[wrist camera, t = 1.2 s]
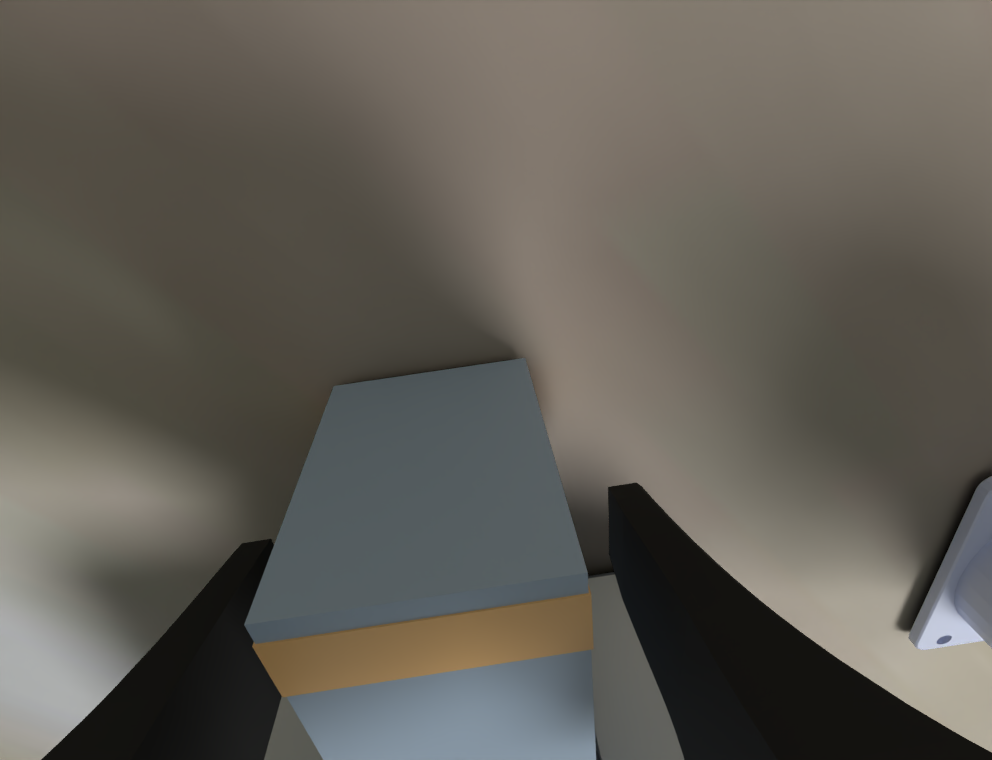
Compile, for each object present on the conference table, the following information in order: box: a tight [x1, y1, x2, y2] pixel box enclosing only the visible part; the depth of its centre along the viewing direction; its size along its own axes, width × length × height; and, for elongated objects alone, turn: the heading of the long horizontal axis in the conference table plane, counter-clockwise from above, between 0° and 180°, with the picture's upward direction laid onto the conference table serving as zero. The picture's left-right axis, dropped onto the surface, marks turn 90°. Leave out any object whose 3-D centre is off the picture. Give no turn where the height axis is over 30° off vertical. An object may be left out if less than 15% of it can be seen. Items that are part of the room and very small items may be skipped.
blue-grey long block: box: [244, 358, 596, 760], centre depth 13 cm, size 4×14×6 cm, turn 7°
